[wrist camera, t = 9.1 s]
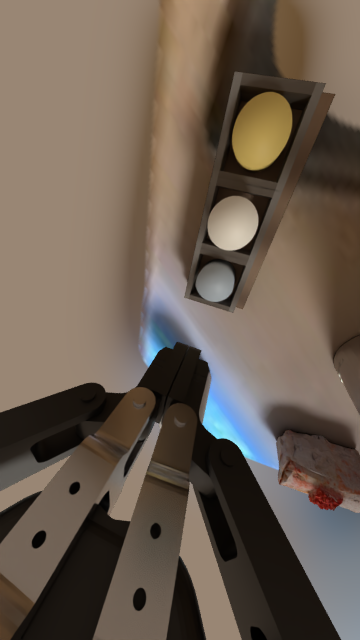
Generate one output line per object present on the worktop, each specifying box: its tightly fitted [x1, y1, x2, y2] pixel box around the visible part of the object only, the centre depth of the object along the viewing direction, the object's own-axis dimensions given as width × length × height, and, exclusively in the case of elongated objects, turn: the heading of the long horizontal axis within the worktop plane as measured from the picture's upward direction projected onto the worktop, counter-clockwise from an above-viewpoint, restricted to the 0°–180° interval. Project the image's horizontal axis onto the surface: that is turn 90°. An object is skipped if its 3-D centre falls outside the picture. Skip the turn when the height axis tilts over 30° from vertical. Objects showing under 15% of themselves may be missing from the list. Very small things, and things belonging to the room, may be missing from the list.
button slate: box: [196, 259, 235, 302], centre depth 23 cm, size 4×4×3 cm
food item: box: [276, 430, 360, 513], centre depth 34 cm, size 14×8×10 cm, turn 87°
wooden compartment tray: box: [184, 72, 335, 313], centre depth 21 cm, size 20×8×5 cm, turn 169°
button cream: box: [208, 196, 258, 250], centre depth 18 cm, size 4×4×3 cm
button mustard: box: [232, 92, 292, 172], centre depth 16 cm, size 4×4×3 cm
